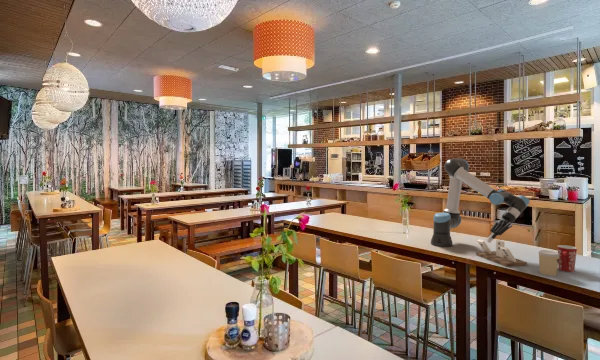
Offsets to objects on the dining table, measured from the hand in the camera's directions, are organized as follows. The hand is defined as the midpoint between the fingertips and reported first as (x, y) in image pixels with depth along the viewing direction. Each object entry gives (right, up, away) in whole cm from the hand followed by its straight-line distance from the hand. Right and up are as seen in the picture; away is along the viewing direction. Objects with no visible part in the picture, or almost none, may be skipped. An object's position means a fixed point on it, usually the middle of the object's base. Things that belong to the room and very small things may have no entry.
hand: (488, 241), depth 226 cm
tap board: (+3, -10, -9) cm, 14 cm away
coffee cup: (+14, -12, -35) cm, 40 cm away
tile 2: (+2, -8, -9) cm, 12 cm away
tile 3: (+4, -9, -19) cm, 21 cm away
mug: (+28, -12, -30) cm, 43 cm away
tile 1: (0, -8, +1) cm, 8 cm away
